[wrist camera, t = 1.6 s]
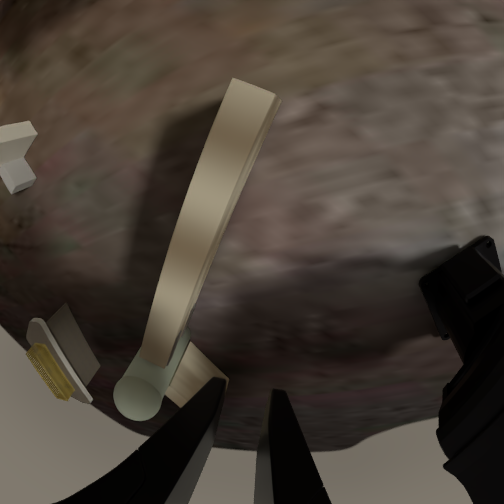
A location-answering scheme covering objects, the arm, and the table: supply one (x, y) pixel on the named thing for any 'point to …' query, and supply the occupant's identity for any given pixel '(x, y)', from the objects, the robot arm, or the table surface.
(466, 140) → the table surface
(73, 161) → the table surface
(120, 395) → the hinge post
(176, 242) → the cream wooden bar
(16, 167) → the cream l-shaped block
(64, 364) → the platform
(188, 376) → the block
